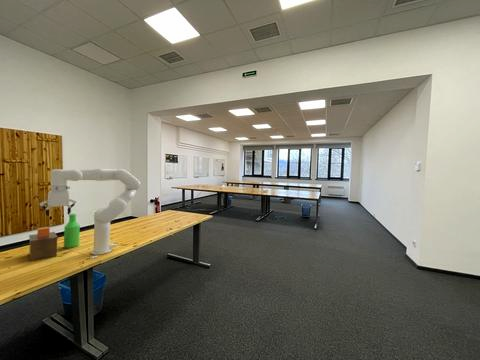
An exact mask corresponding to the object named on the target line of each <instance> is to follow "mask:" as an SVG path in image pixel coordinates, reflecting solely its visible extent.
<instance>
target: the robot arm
mask: <svg viewBox="0 0 480 360" xmlns="http://www.w3.org/2000/svg"><path fill="white" fill-rule="evenodd" d="M68 181H70V182H78V181H95V182H96V181H97V182H104V181H120V182H121V183H122V184H124V186H125V187H124V190H123V191H122V192H121V193H120V194H119V195H117V196H116V197H114V198H113V199H111V200H109V203H108V206H107V207H100V208H98V209H96V211H95V212H94V214H93V223H94V227H93V249H91V250H90V254H91V255H94V256H96V255H105V254H108V253H111V251H112V250H113V248H115V247H118V244H117V243H110V241H111V222H112V221H114V220H115V219H116V218H117V217H119V216H120V215H121V214H123V212H124V211H126V209H127V206H128V204H129V202H130V201H132V200H133V199H134V198H135V196H136V194H137V190H139V189H140V188H141V185H142V184H141V181H140V180H139V179H137V177H135V176H134V175H133V174H131V173H130V172H129V171H128V170H126V169H125V168H95V169H94V168H93V169H58V168H56V169H55V168H54V169H52V170H50V190H49V191H48V194H47V199H46V200H43V201H42V202H39V205H40V207H41V208H42V209H43V210H45V216H47V217H49V216H50V208H54V207H55V208H57V207H67V215H68V216H69V214H72V208H73V207H74V206H75V205H76V203H77V200H74V199H71V198H70V193H69V189H71V187H70V186H68ZM70 202H71V205H70ZM44 204H47V206H45V205H44Z"/></svg>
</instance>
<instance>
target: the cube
mask: <svg viewBox="0 0 480 360" xmlns="http://www.w3.org/2000/svg"><path fill="white" fill-rule="evenodd" d="M50 229H51V228H50V226H43V227H42V226H41V227H37V230H36V231H37V232H36V234H37V236H38V238H40V237H47V236H49V233H50V232H51V231H50Z"/></svg>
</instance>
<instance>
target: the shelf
mask: <svg viewBox="0 0 480 360" xmlns="http://www.w3.org/2000/svg"><path fill="white" fill-rule="evenodd" d="M28 237H29V251H28V255H29V261H30V262H33V261H39V260H44V259H45V260H46V259H50V258H55V257H57V254H58V253H57V252H58V239H59V236H58V235H57V233H56V232H55V231H50V233H49V236H47V237H40V238H38V236H37V233H36V234H35V233H34V234H29V235H28Z"/></svg>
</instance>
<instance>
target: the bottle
mask: <svg viewBox="0 0 480 360" xmlns="http://www.w3.org/2000/svg"><path fill="white" fill-rule="evenodd" d="M80 227H81V226H80V224H79V223H78V222H77V214H76V213H70V214H69V215H68V222H67V223H66V224H65V226H64V227H63V229H64V231H63V247H64V248H65V249H73V248H76V247H78V246H79V245H80Z"/></svg>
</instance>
